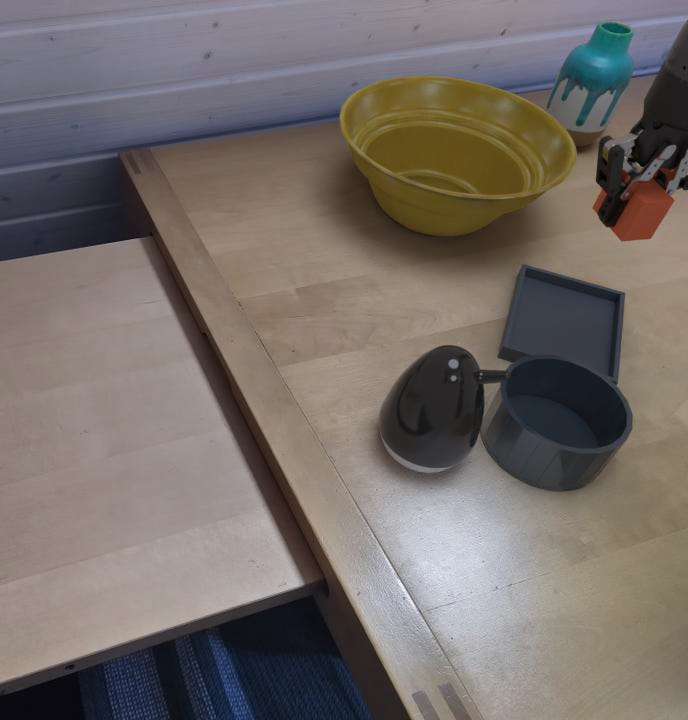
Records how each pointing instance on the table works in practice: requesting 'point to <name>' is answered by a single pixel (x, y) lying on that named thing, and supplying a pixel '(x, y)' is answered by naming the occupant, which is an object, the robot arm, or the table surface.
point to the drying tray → (564, 321)
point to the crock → (555, 422)
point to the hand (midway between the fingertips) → (623, 220)
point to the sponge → (640, 211)
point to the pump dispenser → (436, 409)
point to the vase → (593, 82)
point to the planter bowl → (453, 151)
